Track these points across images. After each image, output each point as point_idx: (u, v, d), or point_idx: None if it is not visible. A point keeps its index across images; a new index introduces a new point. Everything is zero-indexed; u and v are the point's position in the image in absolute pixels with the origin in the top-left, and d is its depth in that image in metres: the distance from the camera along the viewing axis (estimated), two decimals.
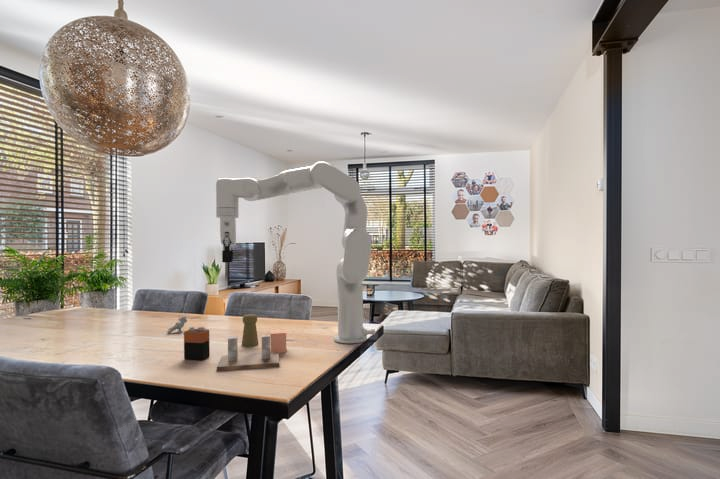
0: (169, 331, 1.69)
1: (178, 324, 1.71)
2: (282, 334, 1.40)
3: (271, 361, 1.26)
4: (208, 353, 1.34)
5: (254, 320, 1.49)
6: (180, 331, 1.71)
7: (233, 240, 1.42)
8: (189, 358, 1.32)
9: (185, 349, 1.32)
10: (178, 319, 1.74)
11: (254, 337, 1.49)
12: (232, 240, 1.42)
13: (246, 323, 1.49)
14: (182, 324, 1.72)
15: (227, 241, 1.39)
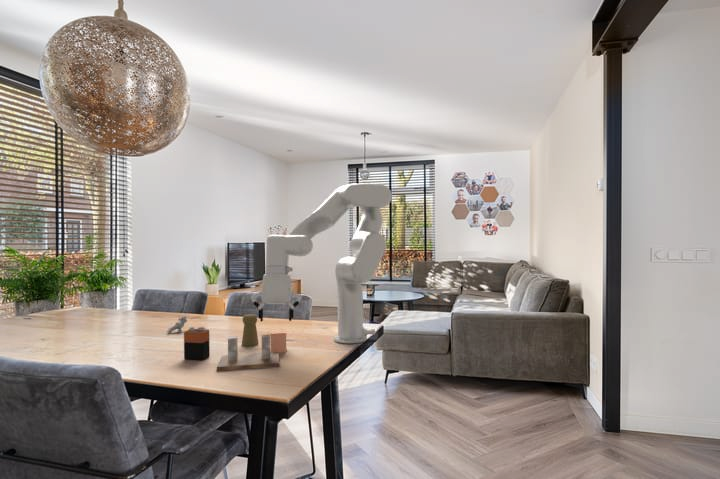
0: (169, 331, 1.69)
1: (178, 324, 1.71)
2: (282, 334, 1.40)
3: (271, 361, 1.26)
4: (208, 353, 1.34)
5: (254, 320, 1.49)
6: (180, 331, 1.71)
7: None
8: (189, 358, 1.32)
9: (185, 349, 1.32)
10: (178, 319, 1.74)
11: (254, 337, 1.49)
12: None
13: (246, 323, 1.49)
14: (182, 324, 1.72)
15: None
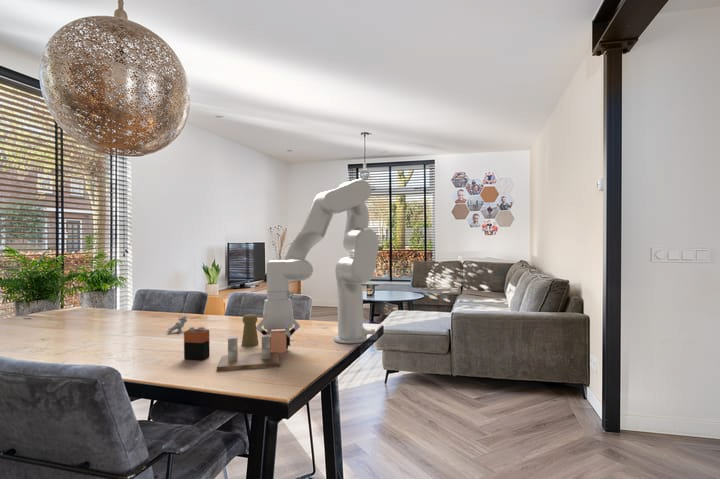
0: (169, 331, 1.69)
1: (178, 324, 1.71)
2: (282, 334, 1.40)
3: (271, 361, 1.26)
4: (208, 353, 1.34)
5: (254, 320, 1.49)
6: (180, 331, 1.71)
7: None
8: (189, 358, 1.32)
9: (185, 349, 1.32)
10: (178, 319, 1.74)
11: (254, 337, 1.49)
12: None
13: (246, 323, 1.49)
14: (182, 324, 1.73)
15: None
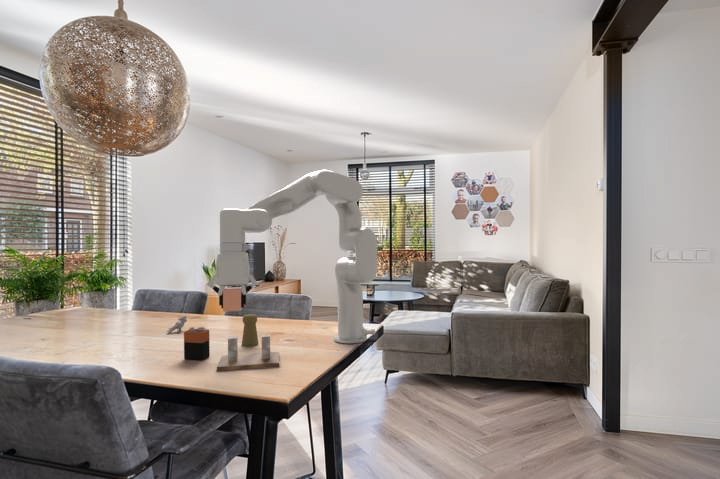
0: (169, 331, 1.69)
1: (178, 324, 1.72)
2: (236, 290, 1.25)
3: (271, 361, 1.26)
4: (208, 353, 1.34)
5: (254, 320, 1.49)
6: (180, 331, 1.72)
7: None
8: (189, 358, 1.32)
9: (185, 349, 1.32)
10: (178, 319, 1.74)
11: (254, 337, 1.49)
12: None
13: (246, 323, 1.49)
14: (182, 324, 1.73)
15: None
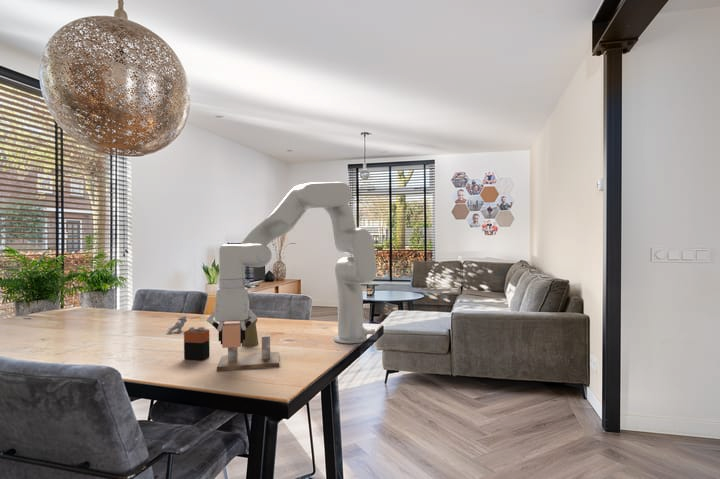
0: (169, 331, 1.70)
1: (178, 324, 1.72)
2: (236, 326, 1.25)
3: (271, 361, 1.26)
4: (208, 353, 1.34)
5: None
6: None
7: None
8: (189, 358, 1.32)
9: (185, 349, 1.32)
10: (178, 319, 1.75)
11: (254, 337, 1.49)
12: None
13: None
14: (182, 324, 1.73)
15: None
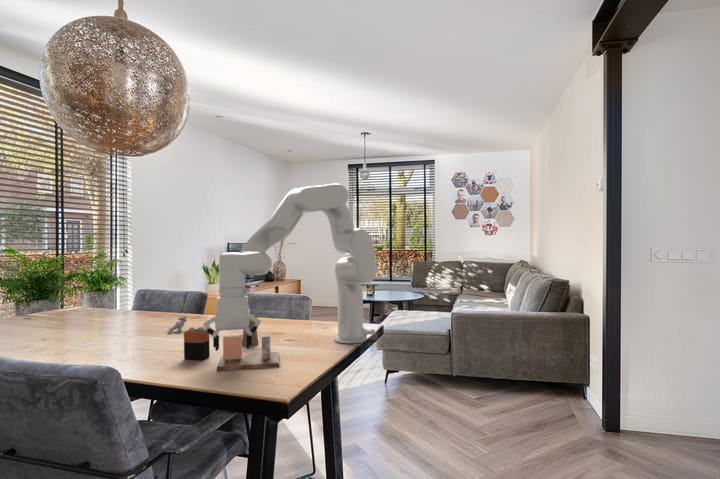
0: (170, 331, 1.70)
1: (178, 324, 1.72)
2: (236, 338, 1.25)
3: (271, 361, 1.26)
4: (208, 353, 1.34)
5: None
6: (180, 330, 1.72)
7: None
8: (189, 358, 1.32)
9: (185, 349, 1.32)
10: (178, 319, 1.75)
11: (254, 337, 1.49)
12: (249, 321, 1.30)
13: None
14: (182, 324, 1.73)
15: None
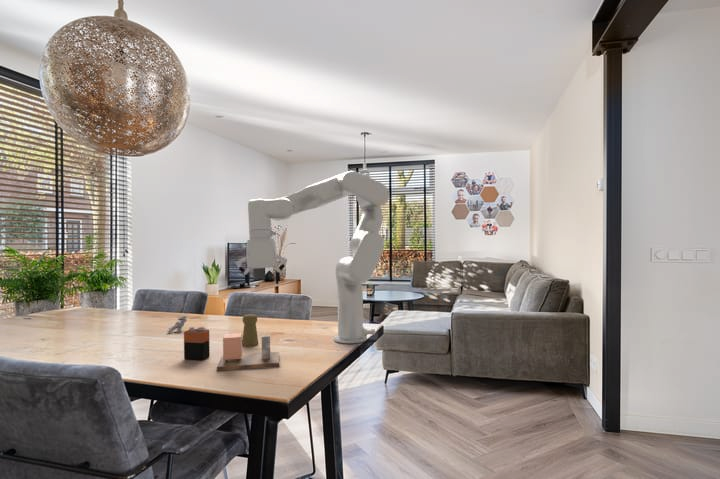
0: (170, 330, 1.70)
1: (178, 323, 1.72)
2: (236, 338, 1.25)
3: (271, 361, 1.26)
4: (208, 353, 1.34)
5: (254, 320, 1.49)
6: None
7: None
8: (189, 358, 1.32)
9: (185, 349, 1.32)
10: (178, 319, 1.75)
11: (254, 337, 1.49)
12: None
13: (246, 323, 1.49)
14: (182, 323, 1.74)
15: None
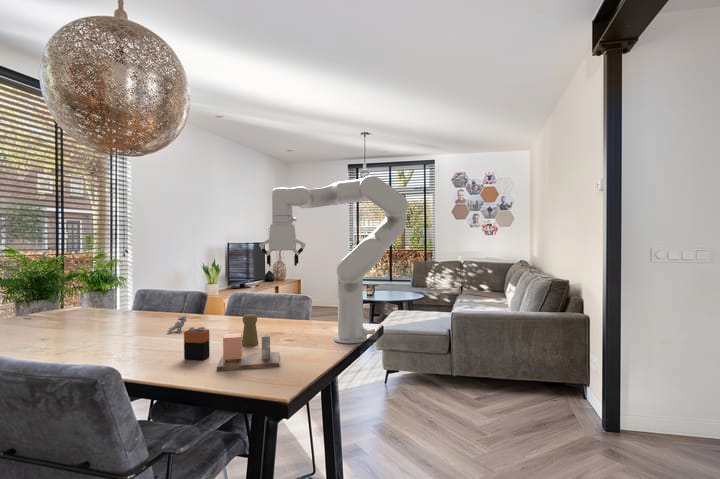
0: (170, 330, 1.70)
1: (178, 323, 1.72)
2: (236, 338, 1.25)
3: (271, 361, 1.26)
4: (208, 353, 1.34)
5: (254, 320, 1.49)
6: None
7: None
8: (189, 358, 1.32)
9: (185, 349, 1.32)
10: (178, 318, 1.75)
11: (254, 337, 1.49)
12: None
13: (246, 323, 1.49)
14: (182, 323, 1.74)
15: None
